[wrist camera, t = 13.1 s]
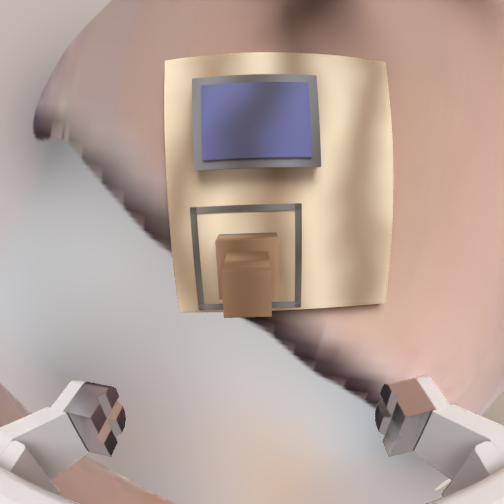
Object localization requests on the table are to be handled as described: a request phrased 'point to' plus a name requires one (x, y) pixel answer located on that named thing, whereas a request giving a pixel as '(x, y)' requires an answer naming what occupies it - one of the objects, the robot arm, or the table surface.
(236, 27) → the table surface
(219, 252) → the stamp
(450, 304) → the table surface
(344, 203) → the board
